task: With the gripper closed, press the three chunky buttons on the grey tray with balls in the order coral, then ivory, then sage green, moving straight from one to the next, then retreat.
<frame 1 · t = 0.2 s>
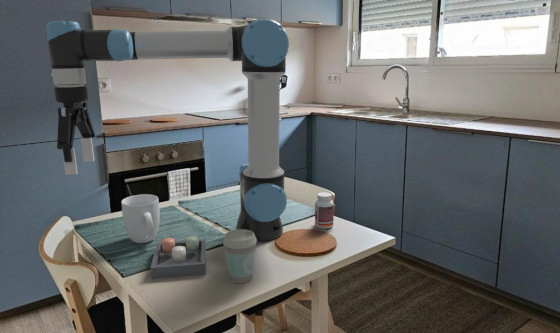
hand: (80, 167, 118), 27 cm above the table, fingers open, 13 cm apart
button ivory: (179, 254, 120), point 4 cm above the table, slide at 0.0 cm
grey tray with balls: (180, 262, 124), on the table
button coral: (168, 245, 125), point 4 cm above the table, slide at 0.0 cm
coffee cup: (241, 278, 115), on the table
pill bottle: (324, 226, 150), on the table
button sage: (192, 243, 126), point 4 cm above the table, slide at 0.0 cm
mug: (144, 240, 139), on the table
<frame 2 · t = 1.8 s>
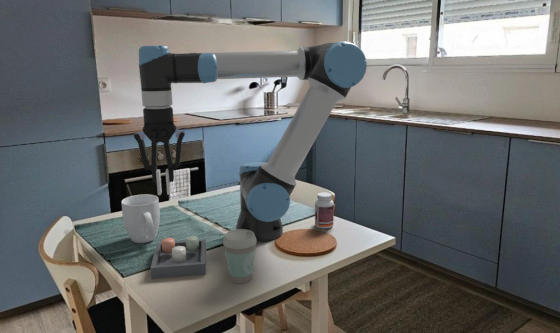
hand: (164, 193, 122), 19 cm above the table, fingers closed
nothing on the table moved.
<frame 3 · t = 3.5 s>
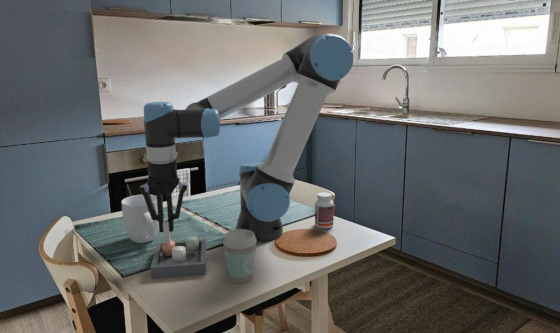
hand: (167, 242, 125), 5 cm above the table, fingers closed
button coral: (168, 248, 126), point 3 cm above the table, slide at 0.8 cm, touching gripper
everything else where it was.
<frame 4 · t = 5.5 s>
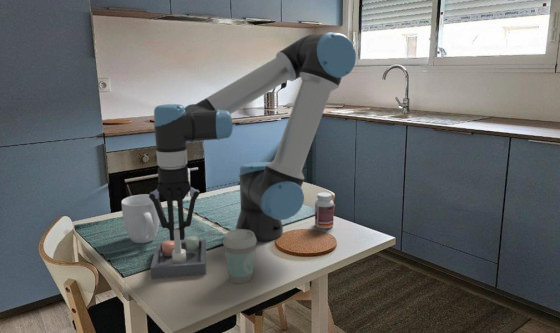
hand: (178, 250, 120), 5 cm above the table, fingers closed
button ivory: (179, 257, 120), point 3 cm above the table, slide at 0.8 cm, touching gripper
button coral: (168, 248, 126), point 3 cm above the table, slide at 0.9 cm
everything else where it was.
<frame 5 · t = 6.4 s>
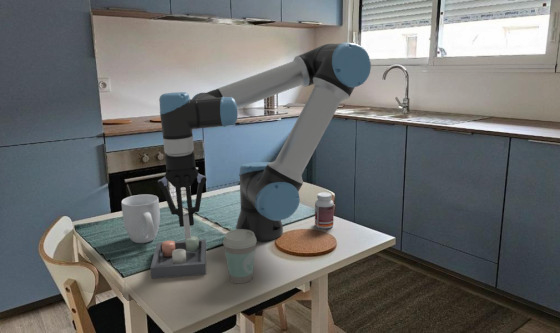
hand: (188, 236, 122), 8 cm above the table, fingers closed
button ivory: (179, 257, 120), point 3 cm above the table, slide at 0.9 cm
everything else where it was.
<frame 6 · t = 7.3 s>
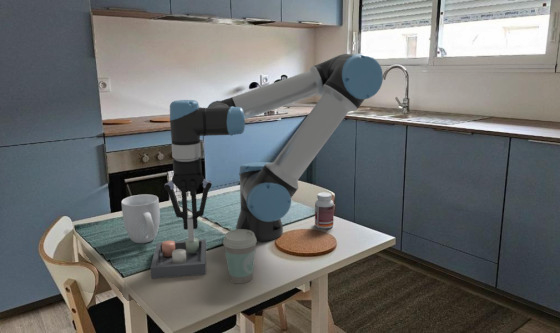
hand: (191, 239, 126), 5 cm above the table, fingers closed
button sage: (192, 245, 127), point 4 cm above the table, slide at 0.4 cm, touching gripper
everything else where it was.
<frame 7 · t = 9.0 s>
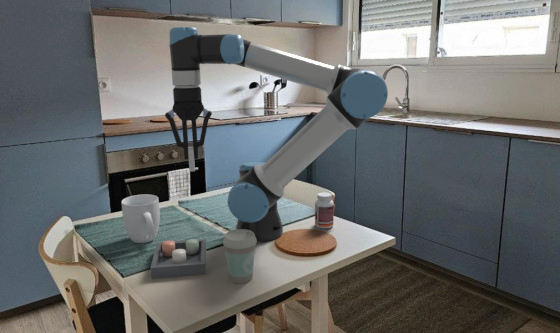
hand: (192, 170, 127), 24 cm above the table, fingers closed
button sage: (192, 246, 127), point 3 cm above the table, slide at 0.9 cm
everything else where it was.
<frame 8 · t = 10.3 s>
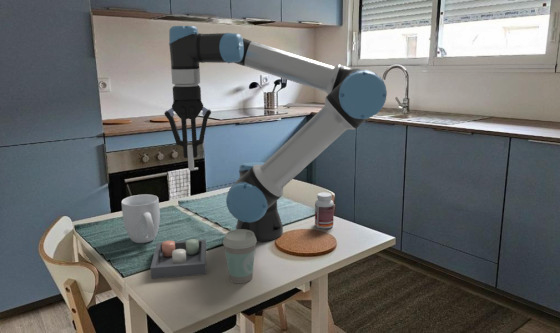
hand: (191, 168, 128), 24 cm above the table, fingers closed
nothing on the table moved.
at the end: button coral slide at 0.9 cm; button ivory slide at 0.9 cm; button sage slide at 0.9 cm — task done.
